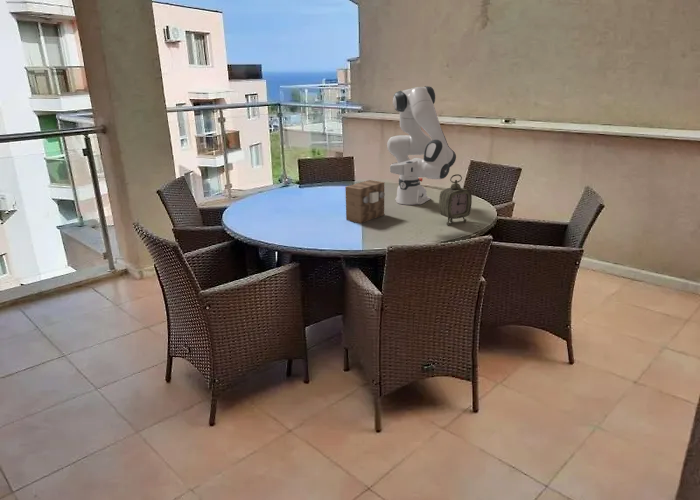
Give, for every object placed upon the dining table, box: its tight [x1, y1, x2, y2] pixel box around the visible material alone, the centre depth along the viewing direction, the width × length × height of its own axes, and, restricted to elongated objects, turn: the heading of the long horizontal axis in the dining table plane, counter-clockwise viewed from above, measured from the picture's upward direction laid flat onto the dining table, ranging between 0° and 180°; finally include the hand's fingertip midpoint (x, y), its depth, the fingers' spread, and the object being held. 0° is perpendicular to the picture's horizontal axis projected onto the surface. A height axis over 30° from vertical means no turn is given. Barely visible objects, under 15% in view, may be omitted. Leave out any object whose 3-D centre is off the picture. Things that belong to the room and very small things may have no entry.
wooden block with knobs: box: [345, 179, 386, 224], centre depth 257 cm, size 20×12×18 cm, turn 138°
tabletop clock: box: [438, 174, 473, 226], centre depth 244 cm, size 14×9×25 cm, turn 115°
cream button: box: [369, 191, 378, 203], centre depth 254 cm, size 5×4×5 cm
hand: (393, 164), depth 241 cm, fingers closed
